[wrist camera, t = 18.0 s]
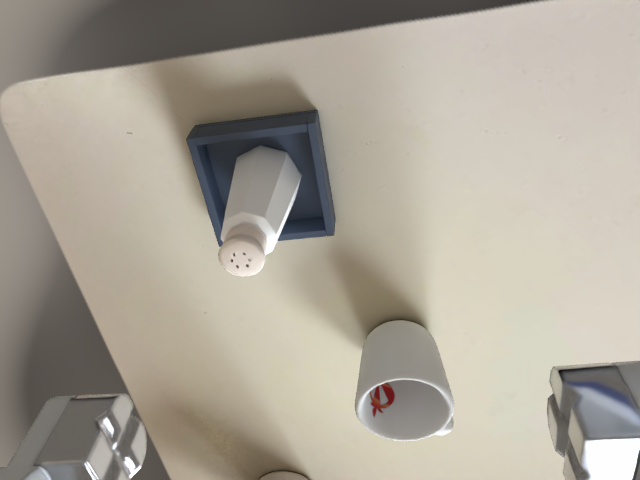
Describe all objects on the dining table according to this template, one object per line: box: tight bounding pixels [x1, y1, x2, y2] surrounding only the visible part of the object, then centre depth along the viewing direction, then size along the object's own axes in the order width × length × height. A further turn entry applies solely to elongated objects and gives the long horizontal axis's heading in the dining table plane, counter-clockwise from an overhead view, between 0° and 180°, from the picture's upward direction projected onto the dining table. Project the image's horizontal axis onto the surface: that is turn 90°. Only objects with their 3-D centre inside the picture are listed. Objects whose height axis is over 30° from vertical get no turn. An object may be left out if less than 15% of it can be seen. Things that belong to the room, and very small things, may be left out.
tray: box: [186, 110, 335, 247], centre depth 42 cm, size 9×9×2 cm
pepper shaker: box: [218, 145, 302, 277], centre depth 38 cm, size 5×5×11 cm
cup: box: [355, 320, 454, 441], centre depth 49 cm, size 11×8×8 cm
